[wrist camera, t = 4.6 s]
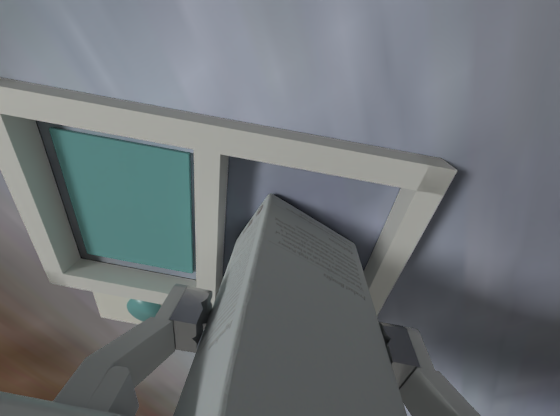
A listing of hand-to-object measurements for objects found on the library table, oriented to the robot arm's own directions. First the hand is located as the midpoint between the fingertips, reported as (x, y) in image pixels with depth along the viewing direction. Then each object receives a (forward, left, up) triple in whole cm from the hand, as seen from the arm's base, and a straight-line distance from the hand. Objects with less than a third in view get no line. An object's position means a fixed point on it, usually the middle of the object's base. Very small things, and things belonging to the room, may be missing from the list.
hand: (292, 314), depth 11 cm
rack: (+5, +2, -5) cm, 8 cm away
